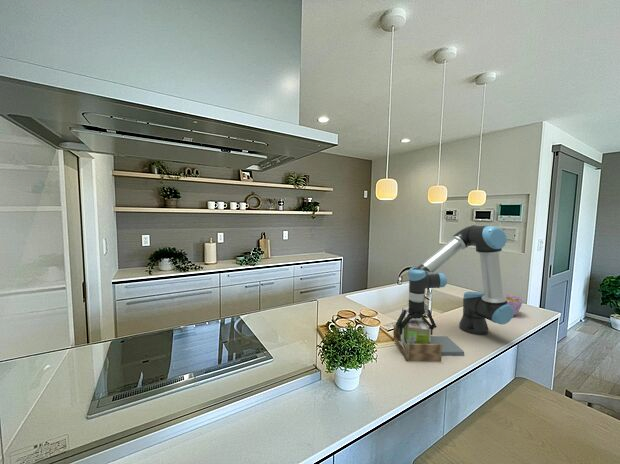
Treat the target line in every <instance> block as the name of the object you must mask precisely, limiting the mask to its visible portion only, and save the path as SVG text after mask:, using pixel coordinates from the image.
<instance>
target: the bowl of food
mask: <svg viewBox="0 0 620 464" xmlns="http://www.w3.org/2000/svg"><path fill="white" fill-rule="evenodd" d="M503 296H505V297H506V298H507V304H509V305H510V306H511V307H513V309H514V315H516V314H518V313H520V310H521V307H522V305H523V302H524V300H523V299H522V298H520V297H517V296H515V295H511V294H506V293H503Z"/></svg>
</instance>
